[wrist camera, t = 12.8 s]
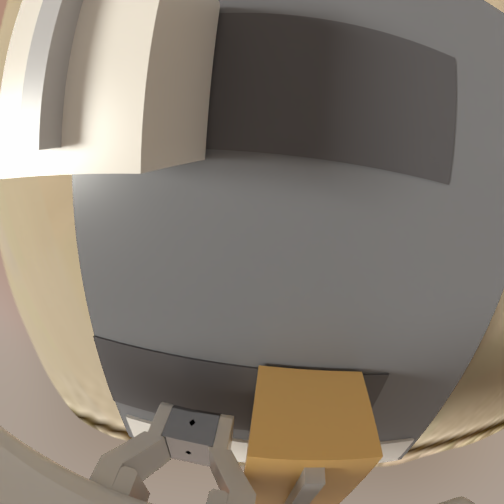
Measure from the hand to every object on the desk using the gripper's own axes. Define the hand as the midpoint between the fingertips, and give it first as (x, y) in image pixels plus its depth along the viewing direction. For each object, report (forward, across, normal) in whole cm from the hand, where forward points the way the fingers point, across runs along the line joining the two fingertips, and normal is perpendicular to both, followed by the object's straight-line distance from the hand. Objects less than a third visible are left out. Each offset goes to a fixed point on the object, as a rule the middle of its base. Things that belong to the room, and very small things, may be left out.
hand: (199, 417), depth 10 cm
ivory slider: (+1, +2, -12) cm, 12 cm away
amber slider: (+1, -4, 0) cm, 4 cm away
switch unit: (+4, -3, -6) cm, 8 cm away
